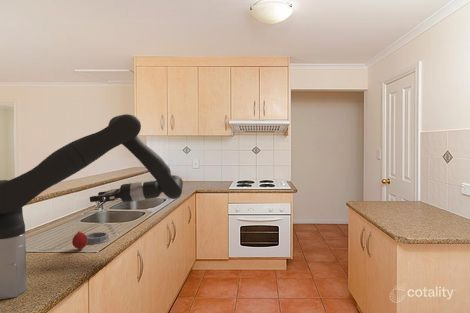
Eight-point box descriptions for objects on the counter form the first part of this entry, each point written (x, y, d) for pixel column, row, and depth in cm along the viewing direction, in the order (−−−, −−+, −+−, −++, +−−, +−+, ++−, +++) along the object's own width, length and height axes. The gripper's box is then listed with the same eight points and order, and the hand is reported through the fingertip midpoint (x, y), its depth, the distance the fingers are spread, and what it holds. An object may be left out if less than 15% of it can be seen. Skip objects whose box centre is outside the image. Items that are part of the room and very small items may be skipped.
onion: (75, 247, 136) (75, 229, 135) (89, 247, 136) (89, 228, 136) (70, 252, 130) (69, 232, 130) (84, 251, 131) (84, 232, 130)
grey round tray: (109, 242, 143) (109, 237, 143) (83, 245, 139) (83, 239, 139) (108, 236, 152) (108, 231, 152) (84, 238, 148) (84, 233, 148)
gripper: (137, 180, 139) (99, 185, 139) (127, 186, 125) (85, 191, 124) (139, 197, 140) (102, 202, 139) (130, 205, 125) (88, 210, 125)
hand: (94, 197), depth 132 cm, fingers open, 8 cm apart
